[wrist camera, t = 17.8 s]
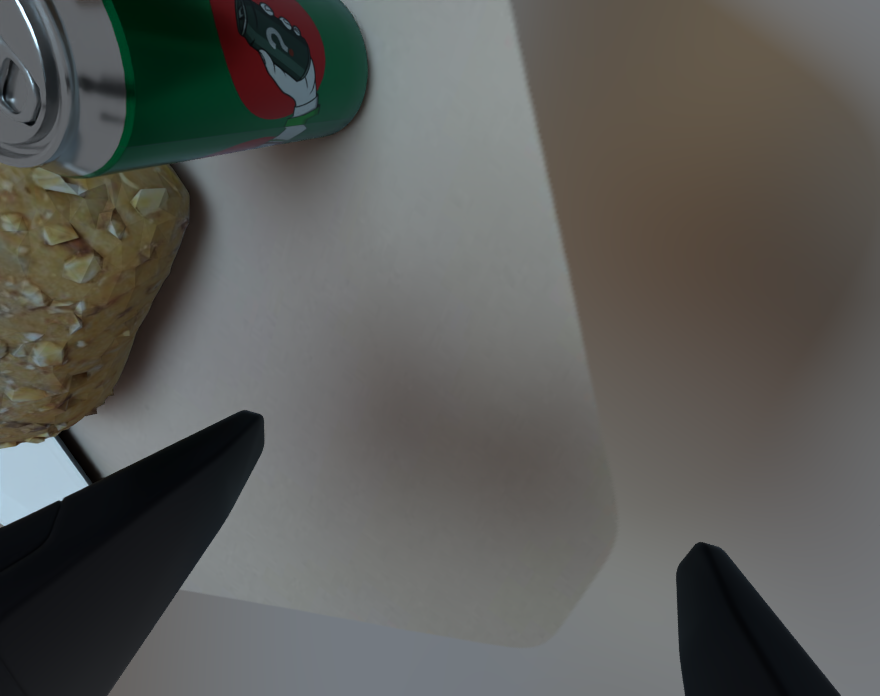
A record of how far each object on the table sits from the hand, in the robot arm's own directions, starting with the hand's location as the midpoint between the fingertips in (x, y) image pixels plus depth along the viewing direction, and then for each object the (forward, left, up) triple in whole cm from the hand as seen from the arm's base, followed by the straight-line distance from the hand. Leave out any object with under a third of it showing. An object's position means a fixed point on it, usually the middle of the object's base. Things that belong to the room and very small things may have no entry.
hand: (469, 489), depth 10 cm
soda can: (+12, -4, -12) cm, 18 cm away
